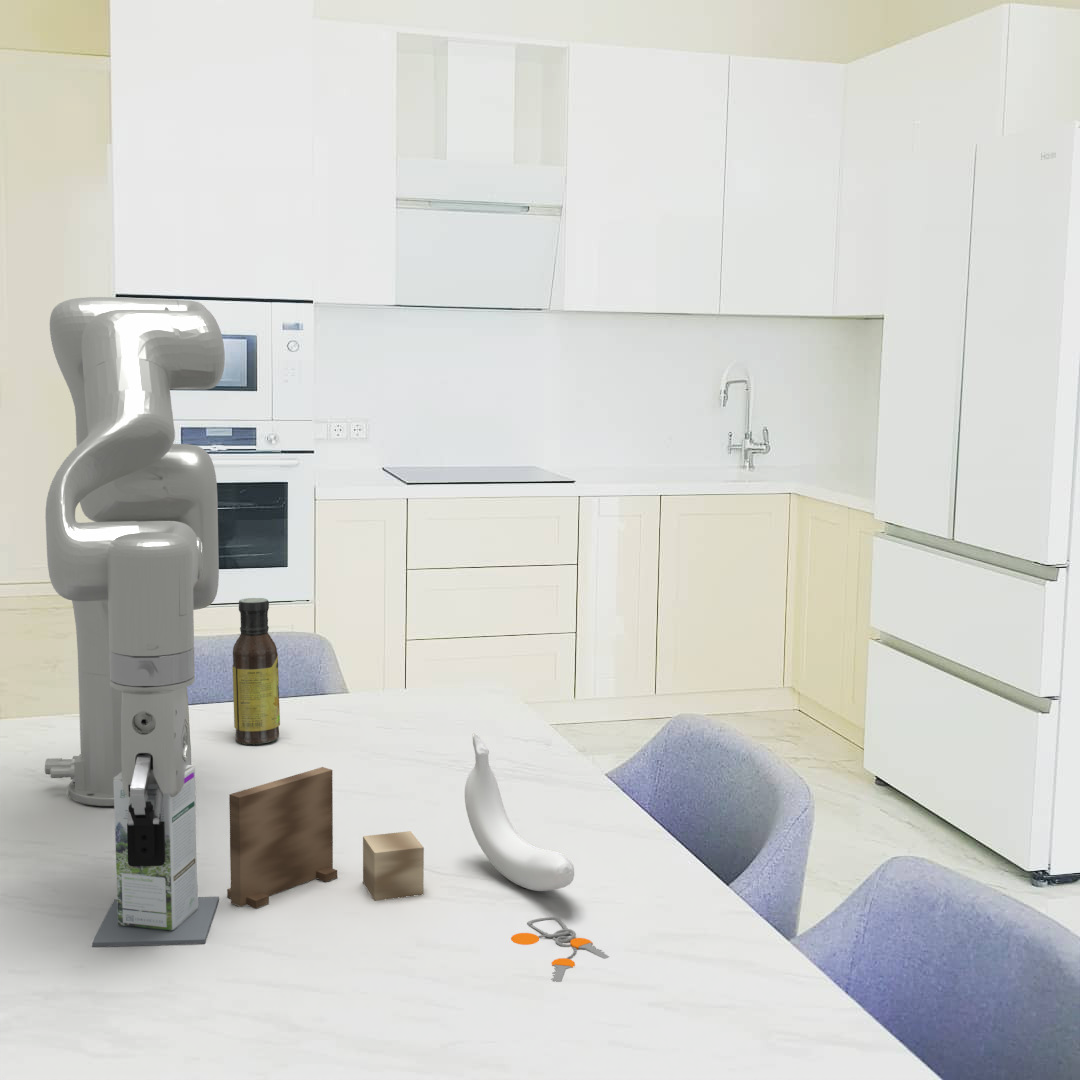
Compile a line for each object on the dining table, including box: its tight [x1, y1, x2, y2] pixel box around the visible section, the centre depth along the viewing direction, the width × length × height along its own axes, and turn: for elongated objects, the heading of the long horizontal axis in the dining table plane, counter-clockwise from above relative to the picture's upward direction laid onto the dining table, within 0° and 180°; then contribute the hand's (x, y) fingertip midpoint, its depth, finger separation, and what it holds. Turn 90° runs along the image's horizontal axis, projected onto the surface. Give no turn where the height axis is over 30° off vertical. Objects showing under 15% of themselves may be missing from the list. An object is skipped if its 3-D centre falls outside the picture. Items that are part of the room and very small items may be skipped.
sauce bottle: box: [232, 597, 281, 746], centre depth 188 cm, size 6×6×20 cm
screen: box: [226, 766, 338, 909], centre depth 136 cm, size 12×4×11 cm, turn 141°
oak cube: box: [362, 830, 425, 902], centre depth 137 cm, size 5×5×5 cm
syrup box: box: [113, 764, 199, 930], centre depth 127 cm, size 6×6×14 cm
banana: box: [464, 733, 575, 892], centre depth 138 cm, size 5×19×15 cm, turn 37°
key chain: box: [510, 916, 610, 983], centre depth 124 cm, size 13×7×1 cm, turn 24°
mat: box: [91, 896, 220, 948], centre depth 128 cm, size 10×10×1 cm
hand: (156, 845), depth 127 cm, fingers open, 9 cm apart
